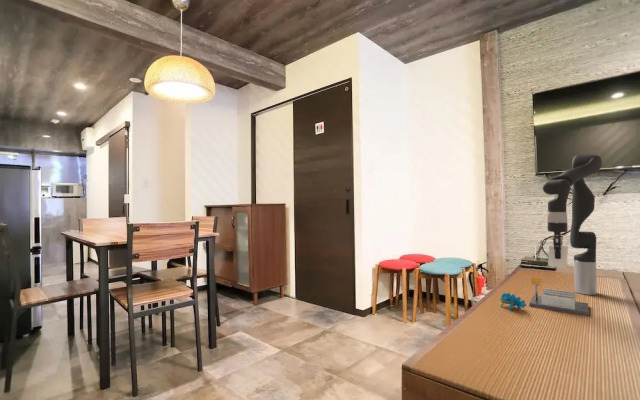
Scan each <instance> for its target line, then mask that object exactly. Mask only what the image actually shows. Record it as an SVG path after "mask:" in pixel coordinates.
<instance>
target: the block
mask: <svg viewBox="0 0 640 400" xmlns="http://www.w3.org/2000/svg"><path fill="white" fill-rule="evenodd" d="M556 247H559V246H556ZM568 251H569V246H564V245H562V246H561V259H555V251H554V245H553V244H549V245H548V262H547V266H548V267H552V268H558V269H565V270H566V269H567V268H568V253H569V252H568Z"/></svg>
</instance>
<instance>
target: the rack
mask: <svg viewBox="0 0 640 400" xmlns="http://www.w3.org/2000/svg"><path fill="white" fill-rule="evenodd" d="M530 279H531V280H530V284H531V285H534V295H532V298H531V300H530V301H529V303H528V304H529V307H531V308H538V309H545V310H550V311H556V312H563V313H568V314H573V315H580V316H584V317H585V316H587V317H589V315H590V314H589V313H590V311H589V310H590V309H589V302H588V303H587V302H582V301H576V292H575V291H568V290H561V289H555V288H554V289H553V288H546V287H544V288H543V291H542V292H541V295H539V292H538V286H542V277H538V276H531V277H530Z"/></svg>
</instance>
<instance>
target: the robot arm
mask: <svg viewBox="0 0 640 400" xmlns="http://www.w3.org/2000/svg"><path fill="white" fill-rule="evenodd" d="M602 163H603V161H602V158H601V156H600V155H598V154H597V155H596V154H576V155H575V156H574V157H572V164H571V168H570V169H567V170H565V171H563V172H562V173H561V174H559V175H557V176H554V177H552V178H549V179H547V180H545V182H544V183H543V185H542V191H543V192H544V194H547V195H550V196H552V195H557V197H556V198H554V199H550V200H548V201H547V231H548V232H550V233H551V232H552V233H554V234H553V235H551V239H552V245H554V251H555V259H561V246H563V240H564V235H562V233H567V232H568V214H567V202H568V199H569V194H570V192H571V188H572V197H571V199H572V200H571V227H570V233H569V234H570V235H569V243H570V246H571V248H574V249H587V250H585V251H584V252H582V253H576V254H574V255H573V272H574V276H573V277H574V280H573V281H574V284H573V285H574V292H575V293H577V294H583V295H589V296H596V295H597V293H598V292H597V290H598V289H597V286H598V285H597V283H598V282H597V235H596V234H595V233H594V232H593V231H580V229H581V227H582V225H583V223H584V222H585V221H586V220H587V219H588V218H589V216H591V215H592V213H593V212H594V210H595V203H596V202H595V200H596V199H595V198H596V197H595V195H594V193H593V191H592V190H591V188H590V187H589V186H588V184H586V182H585V178H586V177H588V176H591V175H594V174H595V173H598V172H599V171H600V170H601V168H602V165H603V164H602ZM556 246H559V247H556Z"/></svg>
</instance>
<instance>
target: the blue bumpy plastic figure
mask: <svg viewBox="0 0 640 400" xmlns="http://www.w3.org/2000/svg"><path fill="white" fill-rule="evenodd" d="M499 300H500V302H501V304H500V308H503V305H504V304H506V305H509V306H508V310H509V311H511V310H512V309H513V307H517V308H518V309H520V308H522V309H524V308H525V307H526V306H527V303H525V302H526V301H525V300H523V299H522V298H521V297H520V296H517V297H516V294H514V293H512V294H510V292H503V294H501V296H500V297H499Z"/></svg>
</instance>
